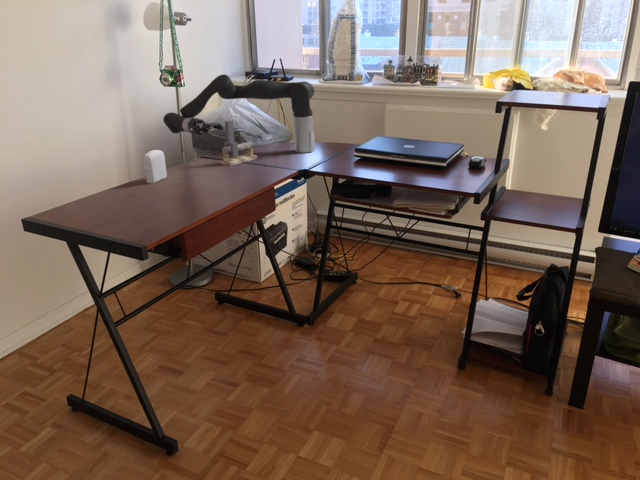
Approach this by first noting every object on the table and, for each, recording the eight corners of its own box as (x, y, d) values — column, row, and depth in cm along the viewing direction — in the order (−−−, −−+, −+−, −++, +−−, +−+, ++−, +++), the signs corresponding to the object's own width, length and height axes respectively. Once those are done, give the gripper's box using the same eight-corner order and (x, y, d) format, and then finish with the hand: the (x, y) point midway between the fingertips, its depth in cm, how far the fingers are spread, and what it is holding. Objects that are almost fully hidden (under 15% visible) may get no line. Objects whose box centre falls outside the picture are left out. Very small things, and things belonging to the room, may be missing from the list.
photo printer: (153, 183, 219) (149, 153, 215) (145, 183, 220) (140, 153, 216) (168, 177, 228) (165, 148, 224) (160, 177, 229) (156, 147, 225)
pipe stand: (247, 157, 262) (246, 140, 259) (257, 158, 258) (256, 141, 255) (219, 163, 250) (218, 146, 247) (230, 165, 246) (228, 148, 243)
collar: (230, 154, 253) (227, 120, 247) (238, 155, 249) (235, 121, 243) (225, 155, 250) (222, 121, 245) (233, 156, 247) (230, 122, 241)
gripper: (180, 120, 255) (202, 123, 245) (204, 116, 265) (226, 118, 255) (182, 136, 258) (203, 139, 248) (206, 131, 268) (227, 134, 258)
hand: (215, 129), depth 252 cm, fingers open, 8 cm apart
